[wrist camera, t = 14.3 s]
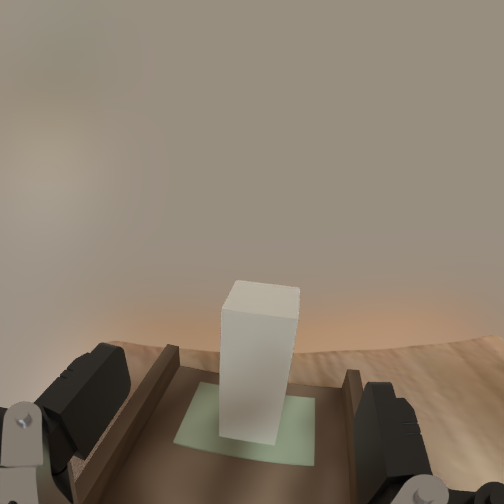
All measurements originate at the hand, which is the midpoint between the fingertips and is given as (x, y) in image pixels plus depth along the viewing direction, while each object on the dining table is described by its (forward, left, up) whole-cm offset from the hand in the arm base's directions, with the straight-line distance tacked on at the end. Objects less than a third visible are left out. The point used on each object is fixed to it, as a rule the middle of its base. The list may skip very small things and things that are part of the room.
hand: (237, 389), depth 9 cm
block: (-2, -11, -14) cm, 18 cm away
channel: (0, -2, -16) cm, 16 cm away
